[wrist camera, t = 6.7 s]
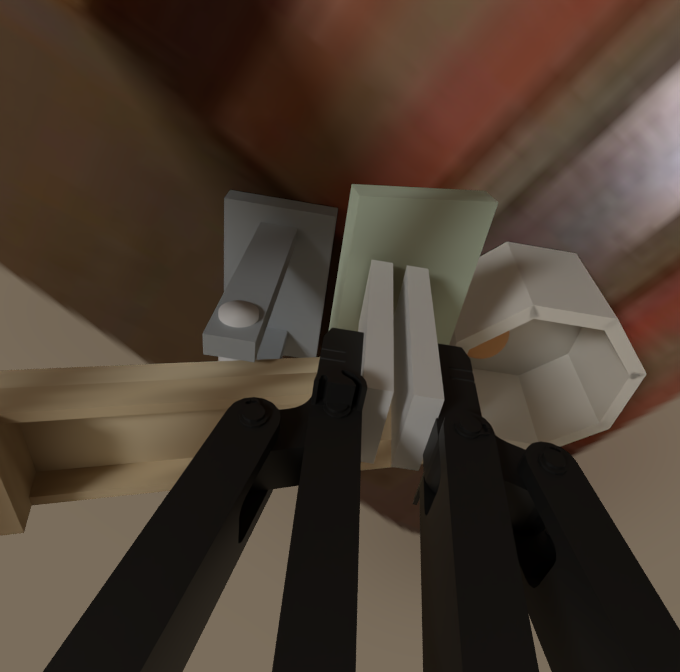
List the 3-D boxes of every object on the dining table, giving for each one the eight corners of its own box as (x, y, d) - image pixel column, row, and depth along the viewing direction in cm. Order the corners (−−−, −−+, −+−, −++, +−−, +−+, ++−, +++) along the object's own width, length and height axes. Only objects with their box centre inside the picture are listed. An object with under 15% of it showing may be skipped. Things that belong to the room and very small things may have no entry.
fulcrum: (338, 208, 28) (310, 329, 18) (317, 349, 34) (288, 494, 24) (230, 189, 27) (147, 302, 18) (228, 334, 33) (166, 474, 24)
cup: (624, 261, 28) (677, 328, 23) (557, 384, 34) (587, 461, 28) (458, 233, 28) (473, 295, 23) (418, 362, 33) (423, 435, 28)
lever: (497, 191, 18) (548, 234, 16) (417, 428, 26) (442, 483, 23) (-98, 160, 13) (-168, 215, 11) (17, 462, 21) (-7, 537, 18)
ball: (520, 330, 27) (461, 317, 27) (500, 375, 28) (445, 362, 29) (514, 299, 29) (460, 287, 29) (497, 342, 31) (445, 331, 31)
